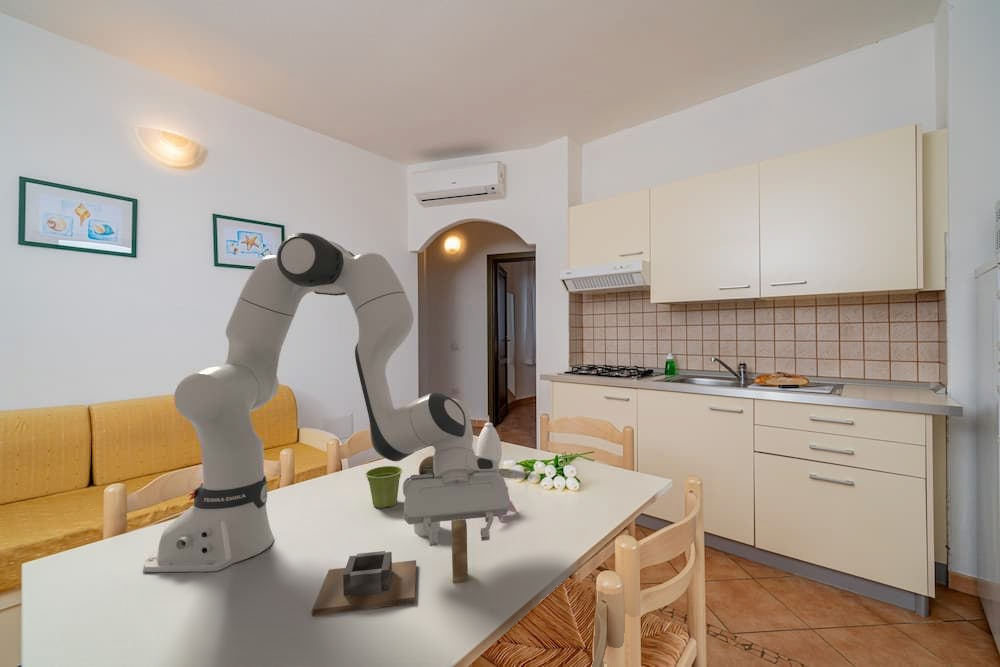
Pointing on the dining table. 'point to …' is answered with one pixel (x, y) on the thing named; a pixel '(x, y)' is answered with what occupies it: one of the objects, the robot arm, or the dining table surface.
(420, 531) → the white cup
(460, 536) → the wooden stick
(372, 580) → the socket board
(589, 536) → the dining table surface
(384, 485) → the plant pot
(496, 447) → the sauce bottle
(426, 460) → the tin
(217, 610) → the dining table surface
